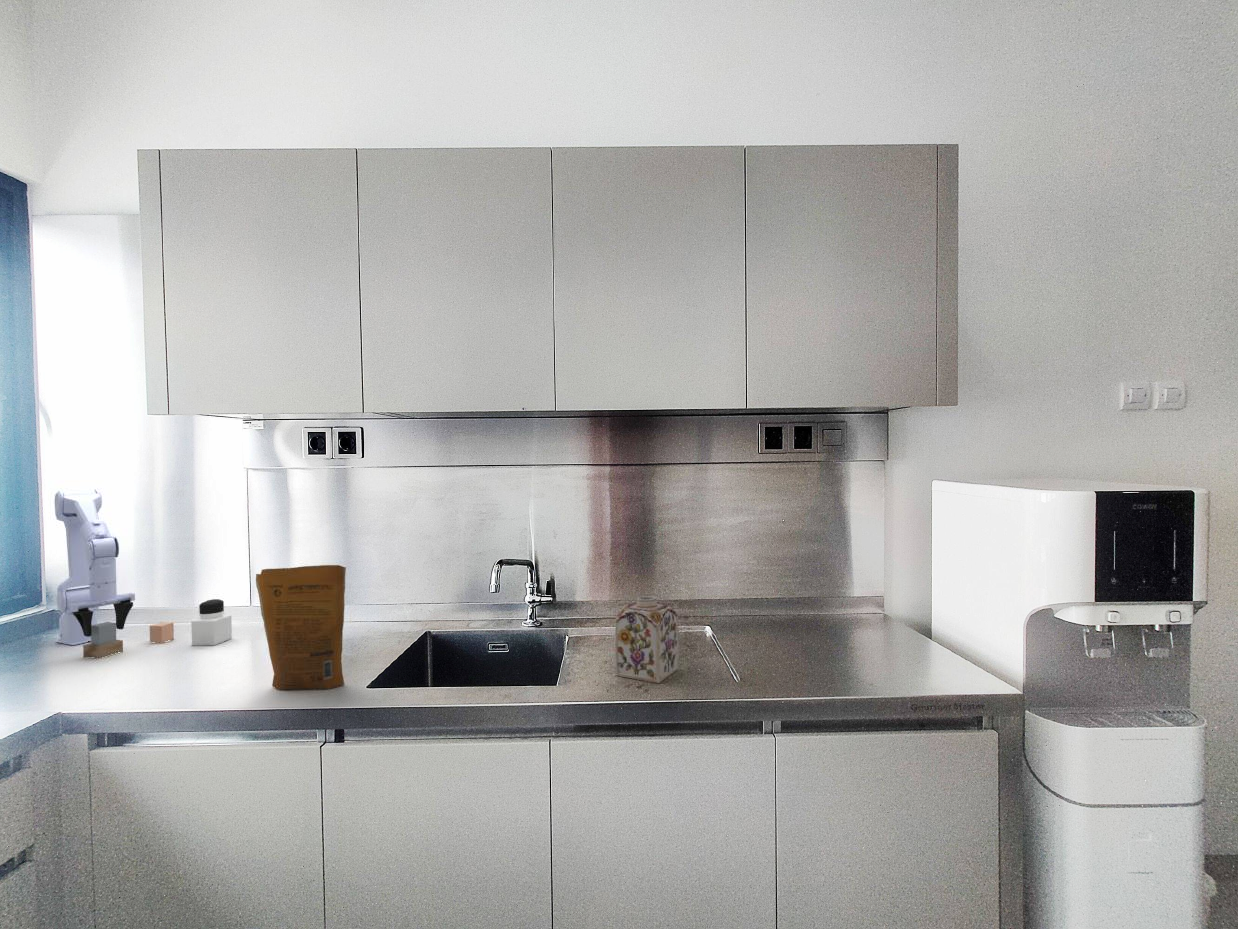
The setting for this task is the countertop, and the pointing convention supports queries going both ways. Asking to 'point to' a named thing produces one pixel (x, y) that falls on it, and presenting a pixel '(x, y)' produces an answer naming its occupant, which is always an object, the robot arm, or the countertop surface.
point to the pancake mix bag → (304, 624)
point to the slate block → (103, 633)
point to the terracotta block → (161, 632)
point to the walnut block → (102, 649)
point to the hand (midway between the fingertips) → (104, 632)
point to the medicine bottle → (211, 624)
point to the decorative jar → (646, 640)
